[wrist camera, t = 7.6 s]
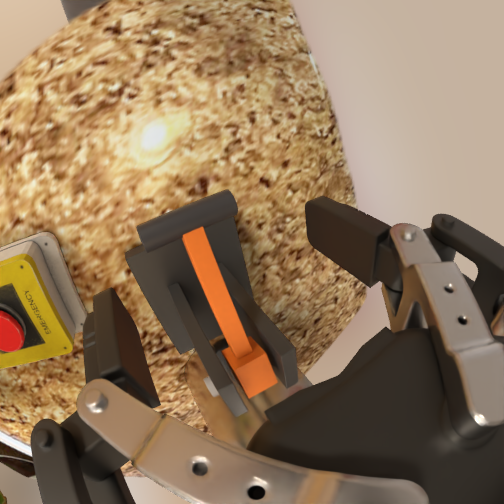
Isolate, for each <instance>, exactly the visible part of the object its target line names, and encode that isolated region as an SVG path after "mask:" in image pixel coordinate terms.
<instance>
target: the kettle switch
mask: <svg viewBox="0 0 504 504" xmlns="http://www.w3.org/2000/svg"><path fill="white" fill-rule="evenodd" d="M237 213H238V208H237V204H236V201H235V198H234V196H233V195H232V193H231V192H230V191H229V190H224V191H221V192H218V193H216V194H213V195H210V196H208V197H205V198H203V199H200V200H197V201H195V202H192V203H190V204H187V205H185V206H183V207H180V208H178V209H175V210H173V211H170V212H168V213H166V214H163V215H161V216H159V217H156V218H154V219H152V220H149V221H147V222H145V223H143V224H140V225H138V226H137V227H136V228H137V231H138V234H139V237H140V239H141V242H142V244H143V246H144V248H145V250H146V252H147V253H149V252H152V251H154V250H156V249H158V248H160V247H163V246H165V245H167V244H169V243H172V242H174V241H176V240H178V239H181V238H182V240H183V243H184V245H185V248H186V250H187V253H188V255H189V257H190V260H191V262H192V265H193V267H194V269H195V272H196V274H197V277H198V279H199V281H200V284H201V286H202V288H203V290H204V293H205V295H206V297H207V300H208V302H209V304H210V306H211V309H212V311H213V313H214V315H215V317H216V320H217V322H218V324H219V326H220V328H221V330H222V332H223V335H224V337H225V339H226V341H227V343H228V345H229V347H228V348H226V349H224V350H222V351H221V352H222V354H223V356H224V358H225V360H226V362H227V364H228V366H229V368H230V370H231V371H232V373H233V375H234V377H235V379H236V380H237V382H238V383H239V385H240V386H241V388H242V389H243V391H244V392H245V394H246V395H247V397H248V398H251V397H253V396H255V395H257V394H258V393H260V392H262V391H264V390H266V389H267V388H269V387H271V386H273V385H274V384H276V383H278V381H277V378H276V376H275V374H274V371H273V369H272V366H271V364H270V361H269V359H268V356H267V354H266V352H265V351H264V350H263V349H262V348H261V347H260V346H259V345H258V344H257V343H256V342H255V340H254V339H253V338H252V337H251V336H249V337H247V336H246V333H245V331H244V329H243V326H242V324H241V321H240V319H239V317H238V314H237V312H236V309H235V307H234V305H233V302H232V300H231V297H230V295H229V292H228V290H227V287H226V285H225V282H224V280H223V277H222V275H221V272H220V270H219V267H218V265H217V262H216V259H215V257H214V254H213V252H212V249H211V246H210V244H209V241H208V239H207V236H206V233H205V231H204V228H206V227H209V226H211V225H213V224H216V223H218V222H221V221H223V220H225V219H228V218H230V217H233V216H235V215H237Z"/></svg>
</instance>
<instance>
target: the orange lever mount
mask: <svg viewBox="0 0 504 504" xmlns="http://www.w3.org/2000/svg"><path fill="white" fill-rule="evenodd" d="M204 231H205V233H206V236H207V239H208V241H209V244H210V246H211V249H212V252H213V254H214V257H215V259H216V262H217V265H218V267H219V270H220V272H221V275H222V277H223V280H224V282H225V285H226V287H227V290H228V292H229V295H230V297H231V300H232V302H233V305H234V307H235V309H236V312H237V314H238V317H239V319H240V321H241V324H242V326H243V329H244V331H245V333H246V336H247V337H249V336H251V337H252V338H253V339H254V340H255V342H256V343H257V344H258V345H259V346H260V347H261V348H262V349H263V350H264V351H265V352H266V354H267V356H268V359H269V361H270V364H271V366H272V369H273V371H274V373H275V374H276V376H277V377H278V378H279V380H280V381H281V382H282V384H283V385H284V386H285V387H286V389H288V388H290V387H291V386H293V385H295V384H296V383H298V382H299V380H298V369H297V359H296V349H295V347H294V346H293V345H292V344H291V343H290V341H289V340H288V339H287V338H286V337H285V336H284V335H283V333H282V332H281V331H280V330H279V329H278V328H277V327H276V326H275V324H274V323H273V322H272V321H271V320H270V319H269V318H268V316H267V315H266V314H265V313H264V312H263V311H262V309H261V308H260V307H259V306H258V305H257V304H256V302H255V301H254V298H253V294H252V290H251V286H250V282H249V278H248V274H247V270H246V265H245V261H244V257H243V253H242V249H241V245H240V241H239V237H238V232H237V228H236V224H235V220H234V216H233V217H230V218H228V219H225V220H223V221H221V222H218V223H216V224H213V225H211V226H209V227H206V228H204ZM125 258H126V261H127V263H128V265H129V267H130V269H131V271H132V273H133V275H134V277H135V279H136V281H137V283H138V284H139V286H140V288H141V290H142V292H143V294H144V295H145V297H146V299H147V301H148V303H149V304H150V306H151V308H152V310H153V311H154V313H155V315H156V316H157V318H158V320H159V321H160V323H161V325H162V326H163V328H164V330H165V331H166V333H167V334H168V336H169V338H170V339H171V341H172V342H173V344H174V346H175V347H176V349H177V350H178V352H179V353H180V354H183V353H185V352H187V351H189V350H191V349H193V348H195V350H196V352H197V354H198V356H199V358H200V360H201V362H202V364H203V366H204V368H205V369H206V371H207V373H208V375H209V376H208V377H206V378H204V382H205V384H206V386H207V388H208V390H209V391H210V393H211V394H212V396H213V397H216V396H218V395H220V396H221V398H222V399H223V401H224V402H225V403H226V405H227V406H228V408H229V409H230V411H231V412H232V413H233V415H234V416H235V417H238V416H240V415H242V414H244V413H245V412H247V411H248V409H247V407H246V405H245V404H244V402H243V400H242V398H241V396H240V394H239V393H238V391H237V389H236V387H235V385H234V383H233V382H232V380H231V378H230V377H229V375H228V373H227V372H226V370H225V368H224V367H223V365H222V363H221V361H220V360H219V358H218V356H217V355H216V353H215V351H214V349H213V348H212V346H211V344H210V342H209V341H210V340H212V339H214V338H216V337H218V336H220V335H222V334H223V332H222V330H221V328H220V326H219V324H218V322H217V320H216V317H215V315H214V313H213V311H212V309H211V306H210V304H209V302H208V300H207V297H206V295H205V293H204V290H203V288H202V286H201V284H200V281H199V279H198V277H197V274H196V272H195V269H194V267H193V265H192V262H191V260H190V257H189V255H188V253H187V250H186V248H185V245H184V243H183V240H182V238H181V239H178V240H176V241H174V242H172V243H169V244H167V245H165V246H163V247H160V248H158V249H156V250H154V251H152V252H149V253H147V252H146V250H145V248H144V246H143V244H142V245H140V246H138V247H136V248H134V249H131V250H129V251H127V252H125Z"/></svg>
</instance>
